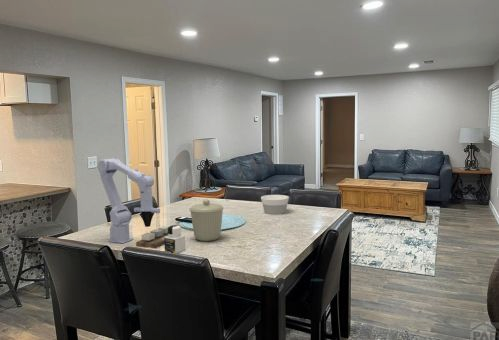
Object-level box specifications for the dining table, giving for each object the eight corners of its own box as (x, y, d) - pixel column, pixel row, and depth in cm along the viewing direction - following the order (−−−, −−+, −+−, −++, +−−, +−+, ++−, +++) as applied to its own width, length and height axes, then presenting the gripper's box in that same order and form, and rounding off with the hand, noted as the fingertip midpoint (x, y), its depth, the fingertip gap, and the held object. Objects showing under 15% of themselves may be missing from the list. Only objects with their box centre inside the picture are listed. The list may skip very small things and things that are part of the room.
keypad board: (136, 245, 195) (136, 241, 195) (162, 234, 215) (162, 230, 215) (156, 248, 190) (155, 243, 190) (180, 236, 211) (180, 232, 210)
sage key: (158, 232, 208) (158, 228, 208) (163, 230, 213) (163, 226, 212) (165, 233, 207) (165, 228, 206) (170, 231, 211) (170, 226, 211)
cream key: (141, 239, 195) (141, 234, 195) (147, 237, 200) (147, 232, 199) (149, 240, 194) (149, 235, 193) (154, 238, 198) (154, 233, 198)
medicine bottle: (164, 251, 185) (163, 226, 184) (175, 247, 191) (174, 223, 190) (175, 253, 181) (174, 228, 180) (185, 249, 187) (184, 225, 186)
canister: (207, 232, 218) (206, 195, 216) (231, 237, 207) (230, 198, 204) (183, 239, 204) (181, 200, 202) (207, 245, 193) (205, 204, 191)
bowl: (290, 215, 257) (290, 199, 256) (261, 215, 257) (260, 199, 256) (288, 209, 276) (287, 194, 275) (261, 209, 276) (260, 194, 275)
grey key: (150, 236, 202) (150, 231, 202) (155, 233, 206) (155, 229, 206) (157, 236, 200) (157, 232, 200) (162, 234, 204) (162, 230, 204)
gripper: (129, 200, 194) (130, 227, 195) (153, 202, 188) (154, 229, 190) (138, 198, 200) (139, 223, 202) (162, 199, 195) (163, 226, 196)
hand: (147, 226), depth 196 cm, fingers closed
